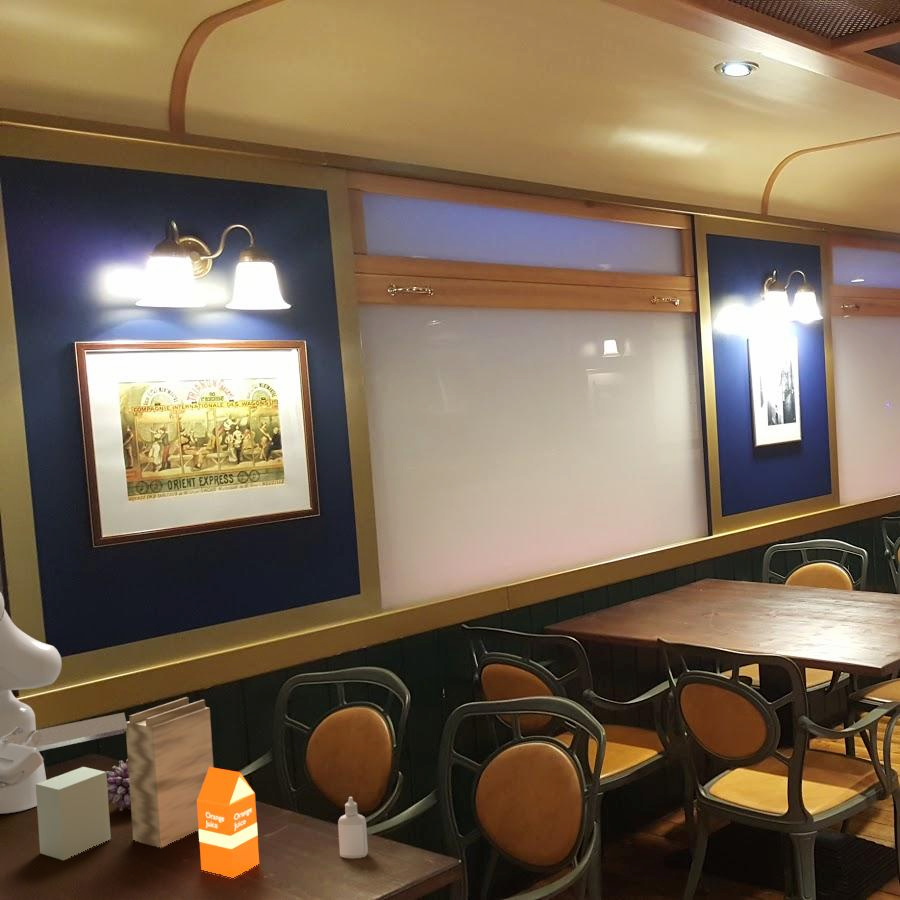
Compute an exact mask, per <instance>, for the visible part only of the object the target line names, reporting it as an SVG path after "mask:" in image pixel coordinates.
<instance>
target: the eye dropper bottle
mask: <svg viewBox="0 0 900 900" xmlns="http://www.w3.org/2000/svg"><path fill="white" fill-rule="evenodd" d="M344 807H345V809H344V812H345V814H343V815H341V816H340V817H339V819H338V822H337V826H338V827H337V829H338V844H339V845H338V847H339V855H340V857H341V858H344V859H362V857H363V858H365V857H366V856H367V855H368V852H369V851H368V850H369V849H368V848H369V847H368V845H369V844H368V830H367V820H366V817H365V816H363V814H360V813H358V803H357V802H355V801H354V798H353V796H349V797H348V801H347V802H346V803H345V804H344Z"/></svg>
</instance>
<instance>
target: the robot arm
mask: <svg viewBox="0 0 900 900" xmlns="http://www.w3.org/2000/svg"><path fill="white" fill-rule="evenodd" d="M62 665H63V664H62V656H61V654H60V653H59V651H58V649H57V648H56V647H55V646H54V645H51V644H48V643H44V642H42V641H40V640H37V639H36V638H34V637H32V636H31V635H28V634H27V633H25V632H24V631H22V629H20V628H18V626H16V624H15V623H14V622H13V621H12V619H11V617H10V616H9V614H8V612H7V610H6V609H5V598H4V595H3V593H2V590H1V589H0V814H2V815H3V814H10V813H16V812H17V813H18V812H22V811H26V810H28V809H32V808H34V807H35V808H36V807H37V798H36V784H37V783H40V782H42V781H45V780H47V776H46V775H47V774H46V770H45V763H44V757H43V755H41V753H40V752H41V751H38V750H37V749H36V748H35V745H36V742H37V741H38V740H39V739H40V738H41V737H42V735H41V734H40V732H39V731H35V730H37V725H36V724H37V723H36V714H35V712H34V710H33V709H32V707H31V706H30V705H28V704H27V703H25V702H22V701H20V700H18V698H16V697H15V695H14V694H13V692H12V691H19V690H34V689H38V688H42V687H46V686H49V685H52V684H54V682H55V681H57V679H58V677H59V675H60V674H61V671H62V668H63V667H62ZM30 731H32V732H31V733H30V734H29V735H28V737H29V738H28V740H27V742H24V743H23V744H22V745H18V744H13V743H7V742H4V741H5V739H6V736H10V735H15V734H20V733H25V732H30Z"/></svg>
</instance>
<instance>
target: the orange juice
mask: <svg viewBox="0 0 900 900" xmlns="http://www.w3.org/2000/svg"><path fill="white" fill-rule="evenodd" d="M256 805H257V804H256V793H255V791H254V790H253V789H252V787H251V786H250V785H249V783H248V781H247V780H246V779H245V777H244V776H243V774H242V773H241V772H239V771H235V770H234V771H233V770H229V769H222V768H217V767H213V768H212V767H209V770H208V772H207V775H206V778H205V781H204V783H203V786H202V789H201V792H200V794H199V797H198V799H197V808H198V824H199V830H198V839H199V840H198V842H199V851H200V854H199V855H200V868H201V870H204V871H208V872H212V873H216V874H221V875H223V876H227V877H231V878H234V877H236V876H238V875H240V874H241V875H243V874H244V873H243V872H245V871H247V872H249V871H250V870H252V869H254V868H255V867H257V866H259V865H260V856H259V855H260V854H259V836H258V835H259V834H258V822H257V821H258V820H257V808H256ZM258 864H259V865H258ZM256 865H257V866H256ZM254 866H255V867H254ZM253 867H254V868H253ZM251 868H252V869H251ZM249 869H250V870H249ZM242 873H243V874H242ZM245 873H246V872H245ZM241 875H240V876H241ZM223 876H222V877H223ZM227 877H226V878H227ZM238 877H239V876H238ZM231 878H230V879H231ZM236 878H237V877H236ZM234 879H235V878H234Z"/></svg>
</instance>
